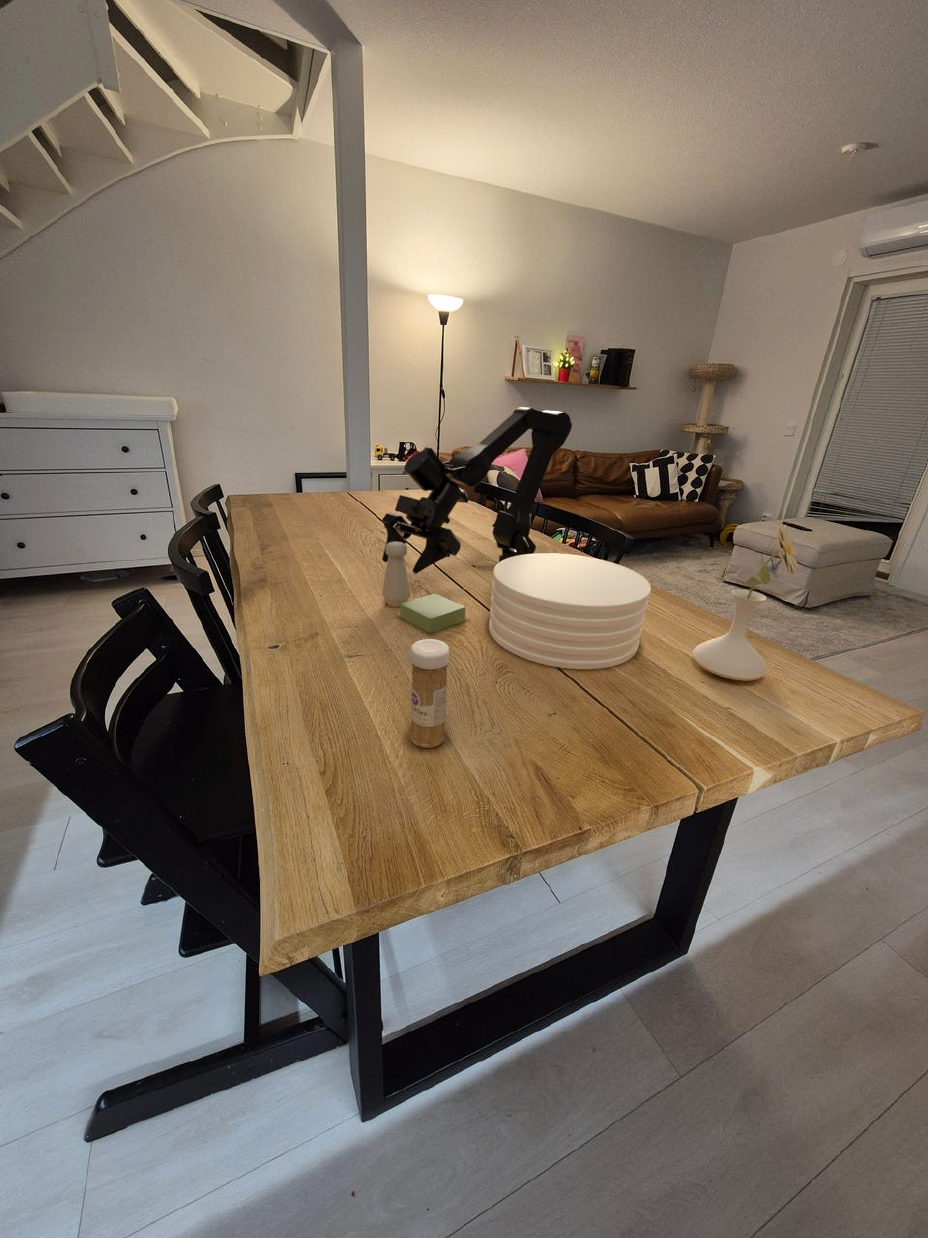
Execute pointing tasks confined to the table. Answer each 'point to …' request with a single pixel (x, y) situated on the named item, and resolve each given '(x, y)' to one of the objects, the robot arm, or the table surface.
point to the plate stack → (567, 610)
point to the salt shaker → (396, 575)
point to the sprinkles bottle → (428, 692)
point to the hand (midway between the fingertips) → (398, 566)
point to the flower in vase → (744, 625)
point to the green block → (432, 612)
